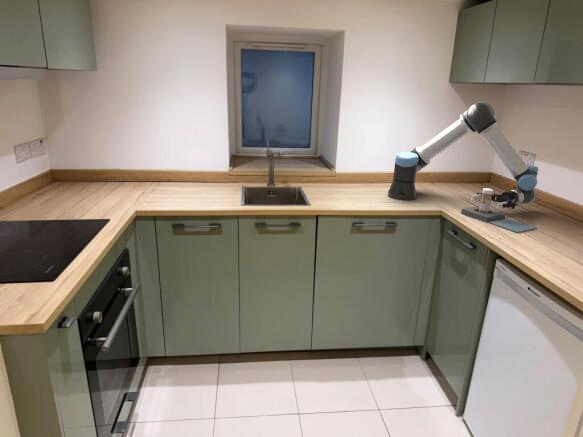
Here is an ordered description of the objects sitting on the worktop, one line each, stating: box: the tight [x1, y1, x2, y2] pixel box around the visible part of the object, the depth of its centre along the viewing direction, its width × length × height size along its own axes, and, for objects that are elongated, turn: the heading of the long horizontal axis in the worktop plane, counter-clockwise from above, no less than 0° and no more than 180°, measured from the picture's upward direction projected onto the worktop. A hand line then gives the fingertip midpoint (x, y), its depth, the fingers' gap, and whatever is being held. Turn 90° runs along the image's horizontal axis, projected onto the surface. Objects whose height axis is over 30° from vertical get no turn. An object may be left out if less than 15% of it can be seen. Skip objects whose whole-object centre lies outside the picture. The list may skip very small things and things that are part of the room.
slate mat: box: [487, 218, 537, 234], centre depth 184 cm, size 14×14×1 cm
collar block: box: [460, 205, 507, 223], centre depth 196 cm, size 14×14×2 cm
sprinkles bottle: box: [479, 187, 494, 214], centre depth 194 cm, size 5×5×14 cm
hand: (484, 202), depth 193 cm, fingers open, 13 cm apart
